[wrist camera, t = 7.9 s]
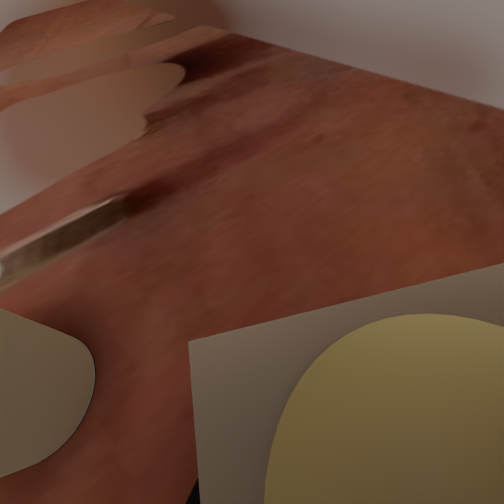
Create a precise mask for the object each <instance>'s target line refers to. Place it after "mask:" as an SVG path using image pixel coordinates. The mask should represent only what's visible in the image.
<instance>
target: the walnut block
mask: <svg viewBox="0 0 504 504" xmlns="http://www.w3.org/2000/svg"><path fill="white" fill-rule="evenodd" d="M188 346H189V359H190V372H191V386H192V399H193V412H194V425H195V438H196V451H197V465H198V478H199V491H200V504H504V263H502V264H498V265H494V266H490V267H486V268H482V269H478V270H474V271H470V272H466V273H462V274H458V275H454V276H450V277H446V278H442V279H438V280H433V281H429V282H425V283H421V284H417V285H413V286H409V287H405V288H401V289H397V290H393V291H389V292H385V293H381V294H377V295H373V296H369V297H365V298H361V299H357V300H353V301H349V302H345V303H341V304H337V305H333V306H329V307H325V308H321V309H317V310H313V311H309V312H305V313H301V314H297V315H293V316H289V317H285V318H281V319H277V320H273V321H269V322H265V323H261V324H257V325H253V326H249V327H245V328H241V329H237V330H233V331H229V332H225V333H221V334H217V335H213V336H208V337H204V338H200V339H196V340H192V341H188Z"/></svg>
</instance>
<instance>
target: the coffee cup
mask: <svg viewBox="0 0 504 504" xmlns="http://www.w3.org/2000/svg"><path fill="white" fill-rule="evenodd" d="M94 384H95V366H94V361H93V358H92V355H91V353H90V351H89V350H88V348H87V347H86V346H85V345H84V344H83V343H82V342H81V341H79V340H78V339H76V338H74V337H72V336H69V335H67V334H65V333H63V332H60V331H58V330H55V329H52V328H50V327H47V326H45V325H42V324H40V323H37V322H35V321H32V320H29V319H27V318H24V317H22V316H19V315H17V314H14V313H12V312H9V311H6V310H4V309H1V308H0V477H3V476H6V475H9V474H11V473H14V472H17V471H19V470H22V469H25V468H27V467H30V466H32V465H34V464H36V463H39V462H40V461H42V460H44V459H46V458H47V457H48V456H50V455H51V454H53V453H54V452H55V451H57V450H58V449H59V448H60V447H61V446H62V445H63V444H64V443H65V442H66V441H67V440H68V439H69V438H70V437H71V435H72V434H73V433H74V431H75V430H76V429H77V427H78V426H79V424H80V423H81V421H82V419H83V417H84V415H85V413H86V411H87V409H88V406H89V404H90V401H91V398H92V395H93V390H94Z"/></svg>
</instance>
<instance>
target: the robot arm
mask: <svg viewBox="0 0 504 504" xmlns="http://www.w3.org/2000/svg"><path fill="white" fill-rule="evenodd" d="M185 504H200V491H199V478H198V479H197V481H196V483H195V485H194V487H193V489H192V491H191V493H190V495H189V497H188V499H187V501H186V503H185Z"/></svg>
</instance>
